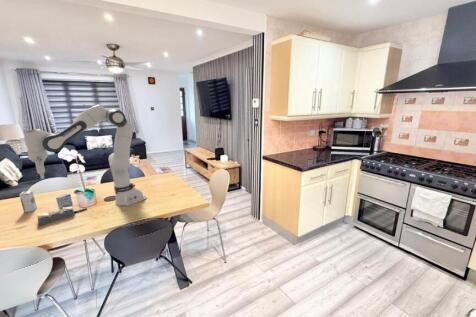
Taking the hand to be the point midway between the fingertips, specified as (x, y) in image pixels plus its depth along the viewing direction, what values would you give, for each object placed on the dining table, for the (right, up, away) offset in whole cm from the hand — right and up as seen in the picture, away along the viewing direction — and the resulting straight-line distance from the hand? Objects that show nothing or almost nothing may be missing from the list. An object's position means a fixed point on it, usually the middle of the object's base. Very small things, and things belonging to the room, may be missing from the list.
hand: (42, 176), depth 142 cm
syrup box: (-29, -27, +23) cm, 46 cm away
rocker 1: (-4, -26, +5) cm, 27 cm away
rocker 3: (+6, -24, +14) cm, 28 cm away
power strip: (+3, -29, +15) cm, 32 cm away
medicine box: (-7, -25, +29) cm, 39 cm away
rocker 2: (+1, -25, +10) cm, 27 cm away
